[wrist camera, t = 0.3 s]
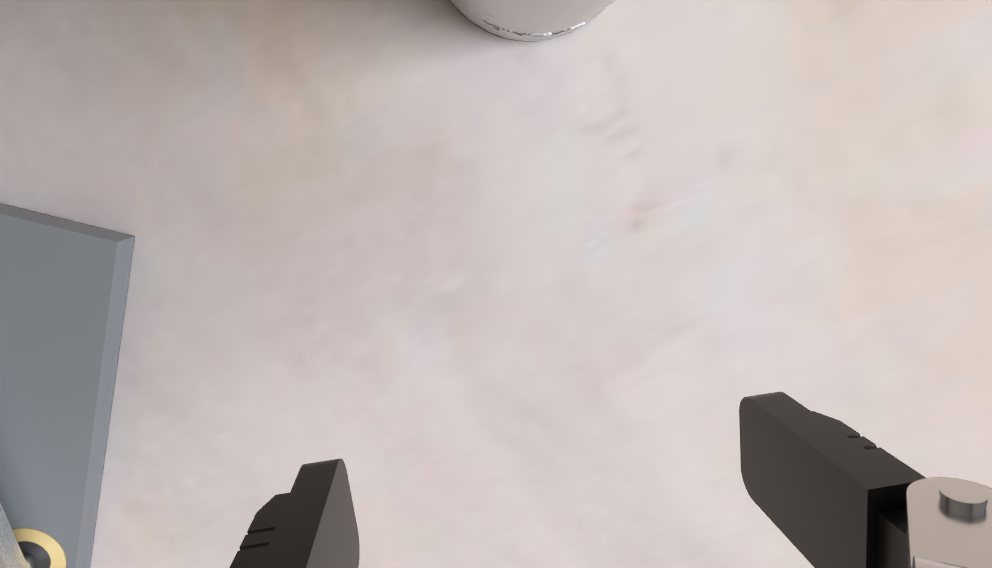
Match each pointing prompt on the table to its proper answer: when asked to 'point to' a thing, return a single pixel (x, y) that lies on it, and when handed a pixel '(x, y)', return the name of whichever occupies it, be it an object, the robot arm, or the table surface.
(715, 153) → the table surface
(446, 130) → the table surface
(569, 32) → the robot arm
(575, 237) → the table surface
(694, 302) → the table surface
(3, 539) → the divider pivot
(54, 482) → the hole plate
